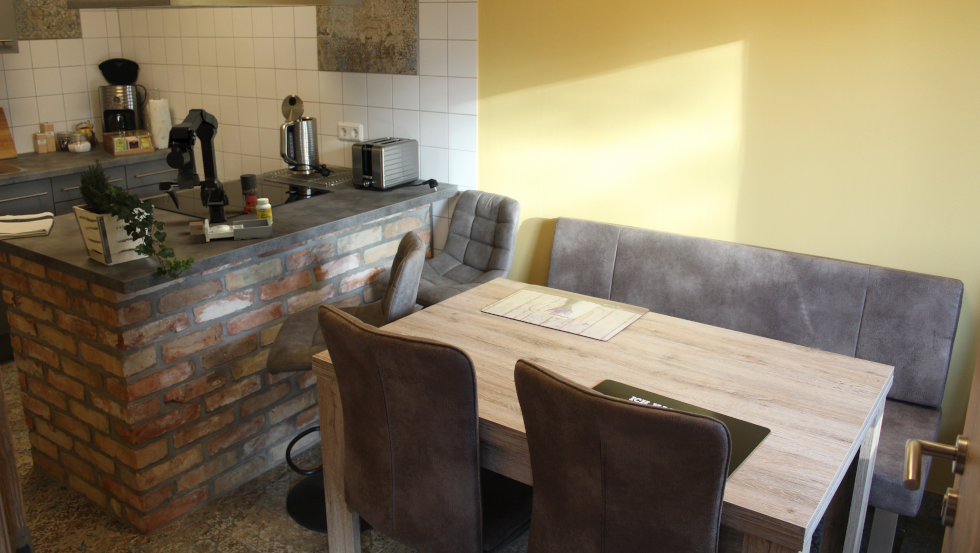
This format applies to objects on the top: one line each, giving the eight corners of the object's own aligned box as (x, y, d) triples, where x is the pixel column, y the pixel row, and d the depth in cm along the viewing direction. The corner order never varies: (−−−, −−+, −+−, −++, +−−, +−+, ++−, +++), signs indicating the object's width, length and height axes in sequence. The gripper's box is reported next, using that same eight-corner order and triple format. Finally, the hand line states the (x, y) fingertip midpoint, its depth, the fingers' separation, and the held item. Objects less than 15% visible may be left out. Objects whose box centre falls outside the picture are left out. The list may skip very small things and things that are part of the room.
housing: (233, 231, 265) (232, 221, 264) (270, 228, 269) (269, 218, 268) (234, 240, 254) (233, 229, 253) (273, 237, 258) (272, 226, 257)
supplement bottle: (270, 221, 279) (267, 197, 276) (274, 224, 275) (272, 199, 272) (256, 223, 277) (253, 198, 273) (260, 226, 272) (257, 201, 269)
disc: (212, 230, 260) (211, 224, 259) (229, 229, 261) (229, 223, 261) (211, 234, 254) (211, 229, 253) (229, 233, 256) (229, 227, 255)
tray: (205, 232, 262) (203, 219, 260) (243, 229, 266) (242, 216, 265) (204, 241, 251) (203, 227, 249) (244, 238, 255) (243, 224, 253)
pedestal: (191, 231, 265) (189, 222, 264) (204, 230, 266) (202, 221, 265) (190, 234, 261) (189, 225, 260) (203, 233, 262) (202, 224, 261)
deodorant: (241, 213, 292) (236, 176, 287) (250, 209, 297) (246, 173, 292) (253, 214, 290) (249, 177, 285) (262, 211, 295) (258, 174, 290)
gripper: (152, 168, 237) (159, 215, 242) (212, 166, 242) (218, 212, 247) (158, 163, 248) (165, 208, 253) (216, 161, 252) (221, 205, 257)
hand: (192, 208), depth 252 cm, fingers open, 9 cm apart
